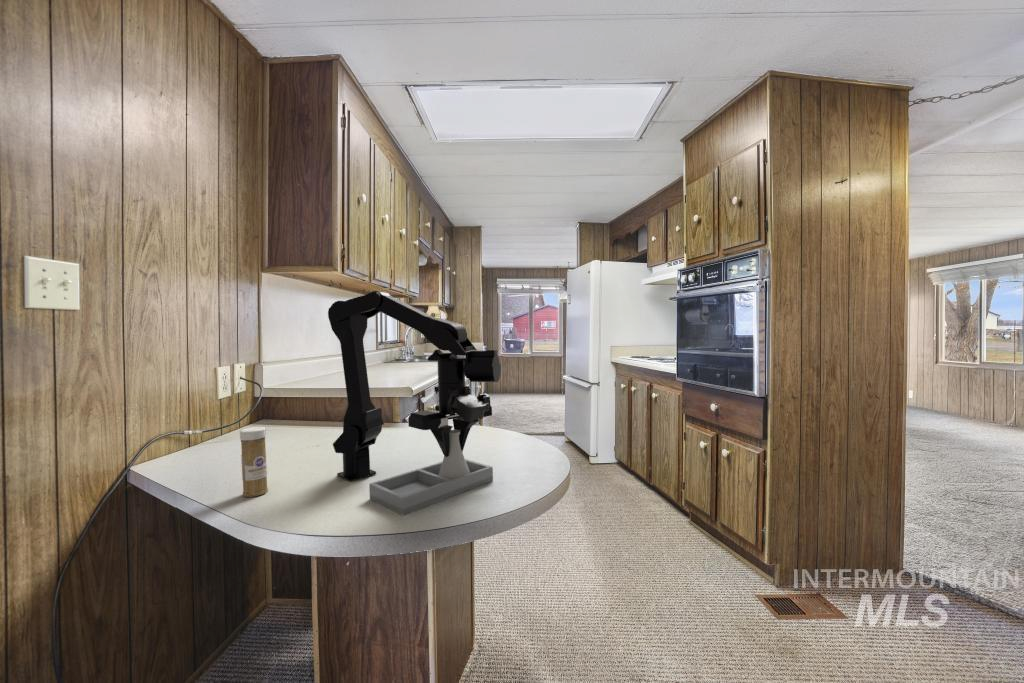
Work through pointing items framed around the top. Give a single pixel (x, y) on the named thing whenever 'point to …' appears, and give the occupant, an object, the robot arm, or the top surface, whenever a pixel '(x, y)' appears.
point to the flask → (454, 459)
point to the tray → (426, 486)
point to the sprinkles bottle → (253, 461)
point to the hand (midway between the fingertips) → (453, 454)
